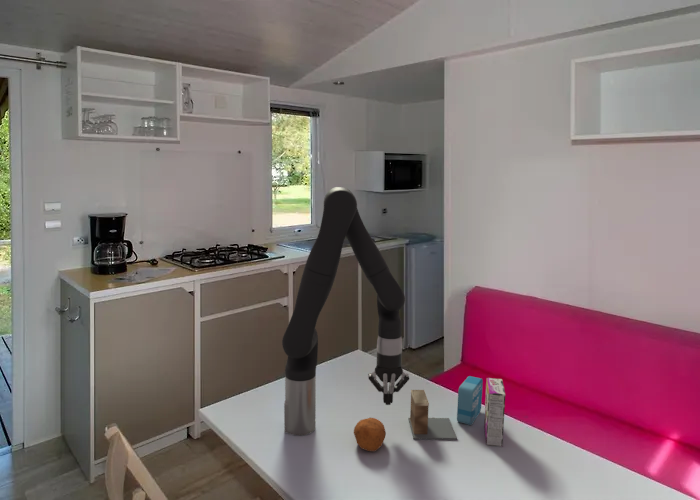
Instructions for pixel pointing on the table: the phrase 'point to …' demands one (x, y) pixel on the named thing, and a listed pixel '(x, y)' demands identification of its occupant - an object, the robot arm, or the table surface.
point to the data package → (469, 400)
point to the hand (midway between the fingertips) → (387, 403)
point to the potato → (369, 434)
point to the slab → (419, 411)
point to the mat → (436, 430)
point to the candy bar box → (494, 412)
